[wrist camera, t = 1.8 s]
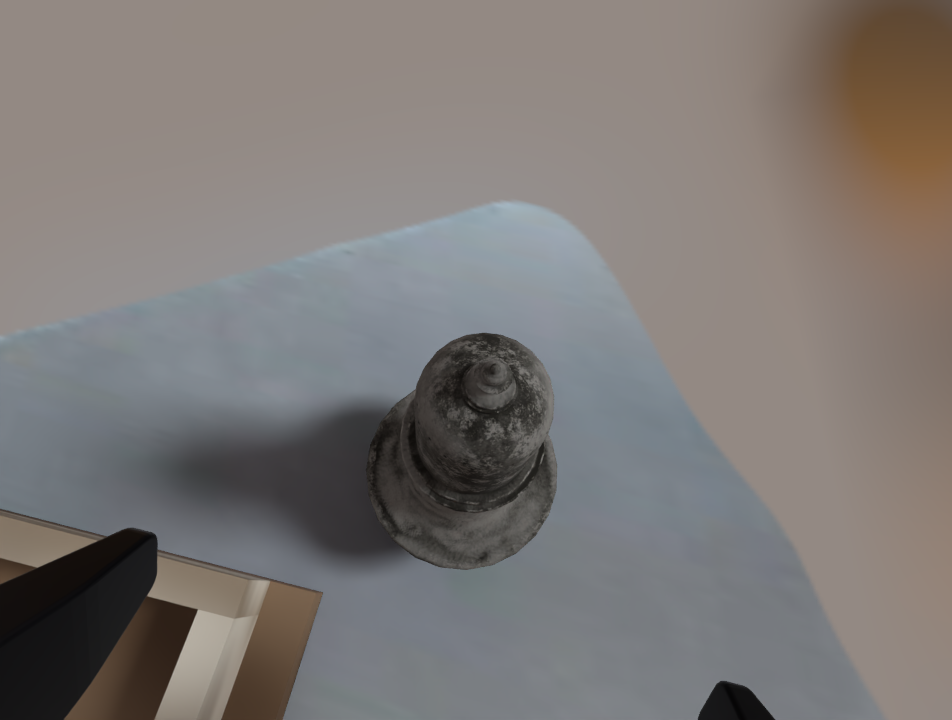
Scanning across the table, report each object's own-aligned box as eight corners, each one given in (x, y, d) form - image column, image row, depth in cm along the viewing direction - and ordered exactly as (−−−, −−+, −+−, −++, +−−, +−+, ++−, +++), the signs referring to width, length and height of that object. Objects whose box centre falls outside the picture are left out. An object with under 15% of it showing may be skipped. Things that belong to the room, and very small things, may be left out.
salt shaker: (354, 550, 19) (261, 498, 8) (400, 393, 22) (377, 189, 11) (519, 591, 19) (648, 594, 8) (548, 430, 22) (681, 263, 10)
